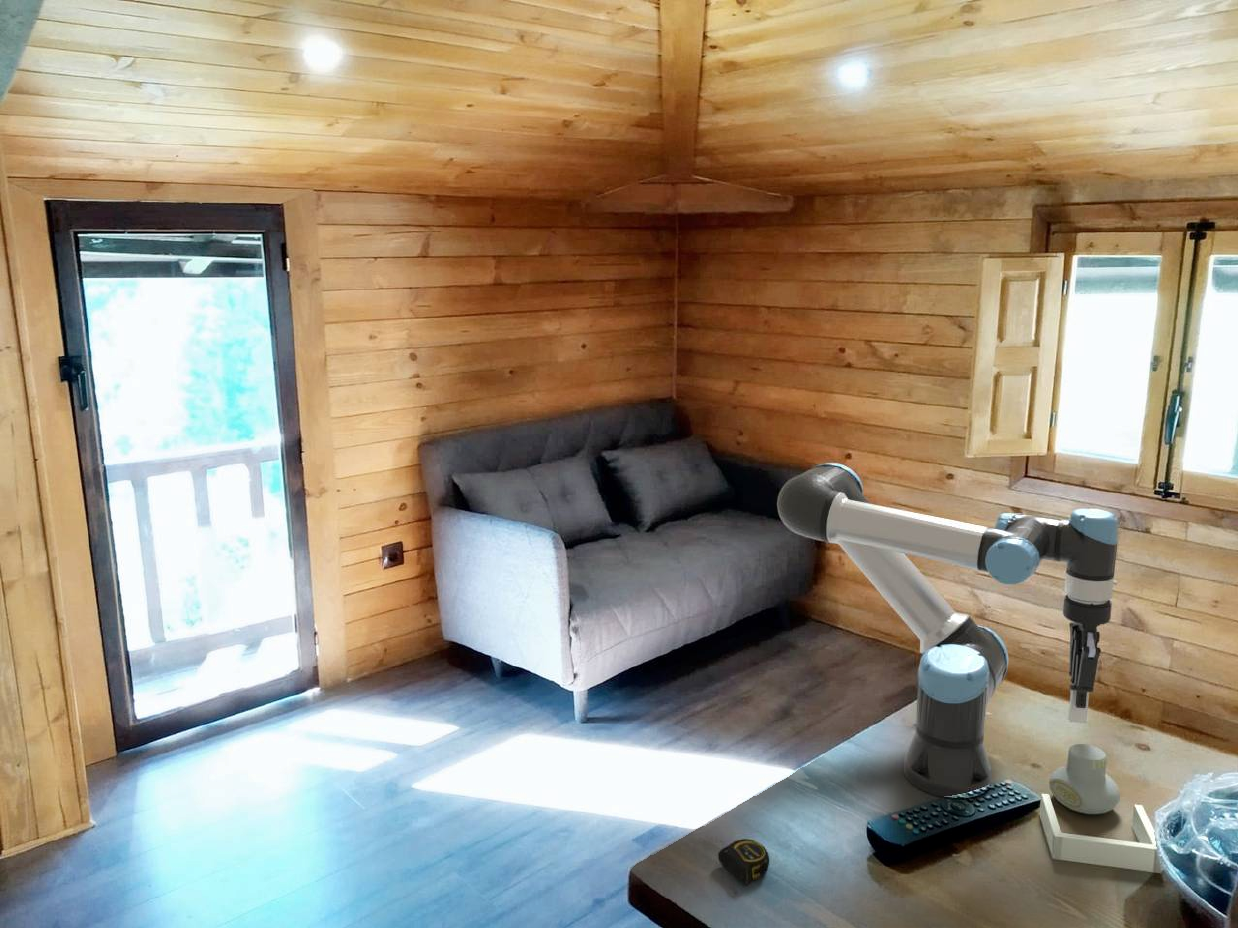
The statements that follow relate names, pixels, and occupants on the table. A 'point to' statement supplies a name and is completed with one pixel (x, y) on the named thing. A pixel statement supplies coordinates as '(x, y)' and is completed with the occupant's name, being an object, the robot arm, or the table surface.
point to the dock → (1102, 843)
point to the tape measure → (745, 860)
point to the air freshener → (1085, 781)
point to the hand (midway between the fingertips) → (1077, 720)
